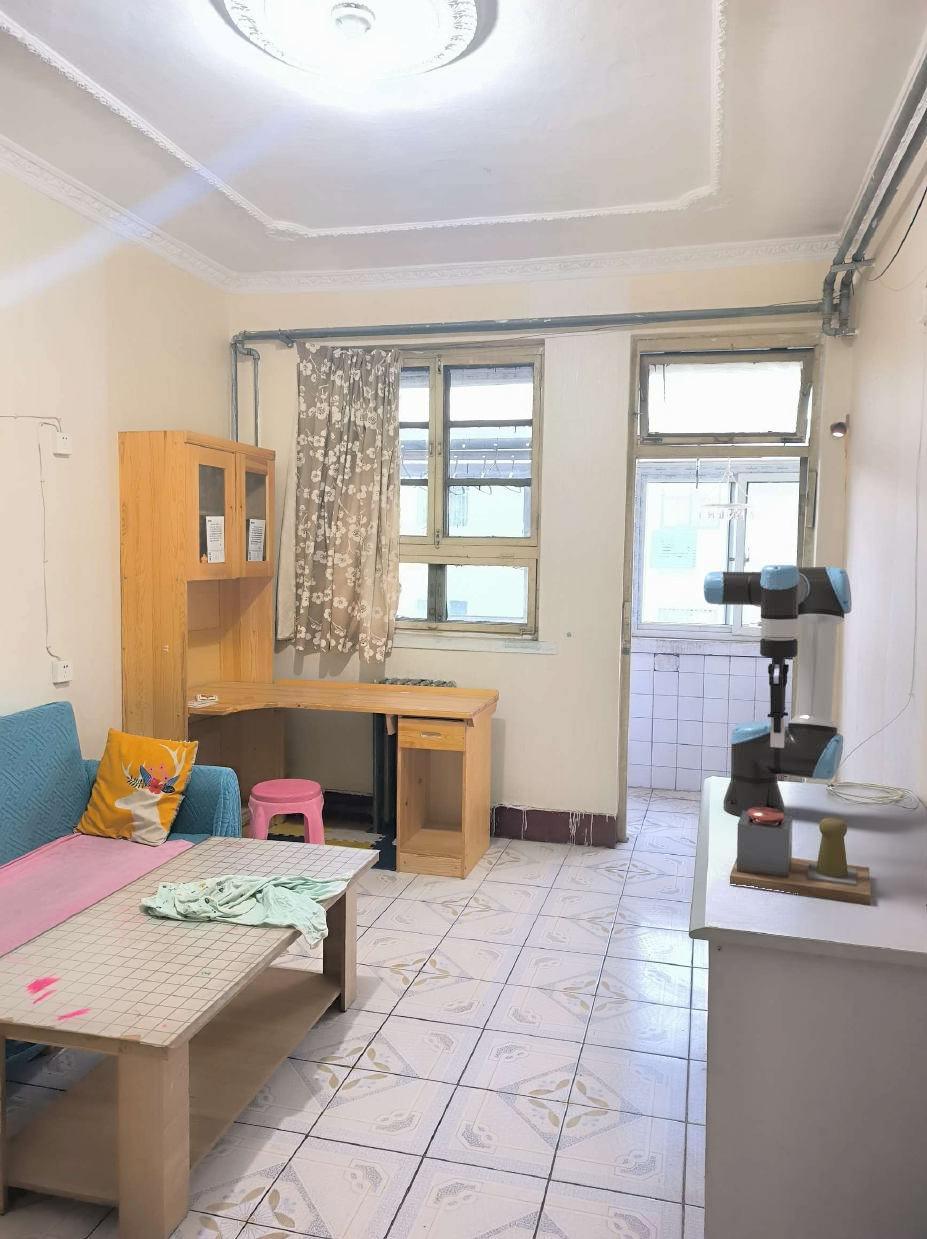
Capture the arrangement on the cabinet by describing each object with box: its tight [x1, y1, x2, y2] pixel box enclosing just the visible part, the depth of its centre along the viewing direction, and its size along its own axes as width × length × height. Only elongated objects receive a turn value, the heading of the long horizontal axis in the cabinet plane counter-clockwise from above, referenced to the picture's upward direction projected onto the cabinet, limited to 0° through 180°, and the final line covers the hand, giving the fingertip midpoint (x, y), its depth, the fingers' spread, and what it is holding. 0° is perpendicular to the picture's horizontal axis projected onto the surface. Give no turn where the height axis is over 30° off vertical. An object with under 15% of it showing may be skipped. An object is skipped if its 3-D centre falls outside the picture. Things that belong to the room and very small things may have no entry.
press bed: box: [729, 857, 872, 906], centre depth 181 cm, size 16×26×3 cm, turn 66°
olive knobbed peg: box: [816, 817, 848, 878], centre depth 179 cm, size 6×6×11 cm
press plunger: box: [748, 807, 785, 826], centre depth 184 cm, size 7×7×9 cm
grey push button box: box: [736, 811, 794, 878], centre depth 184 cm, size 10×10×10 cm
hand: (777, 746), depth 190 cm, fingers closed
